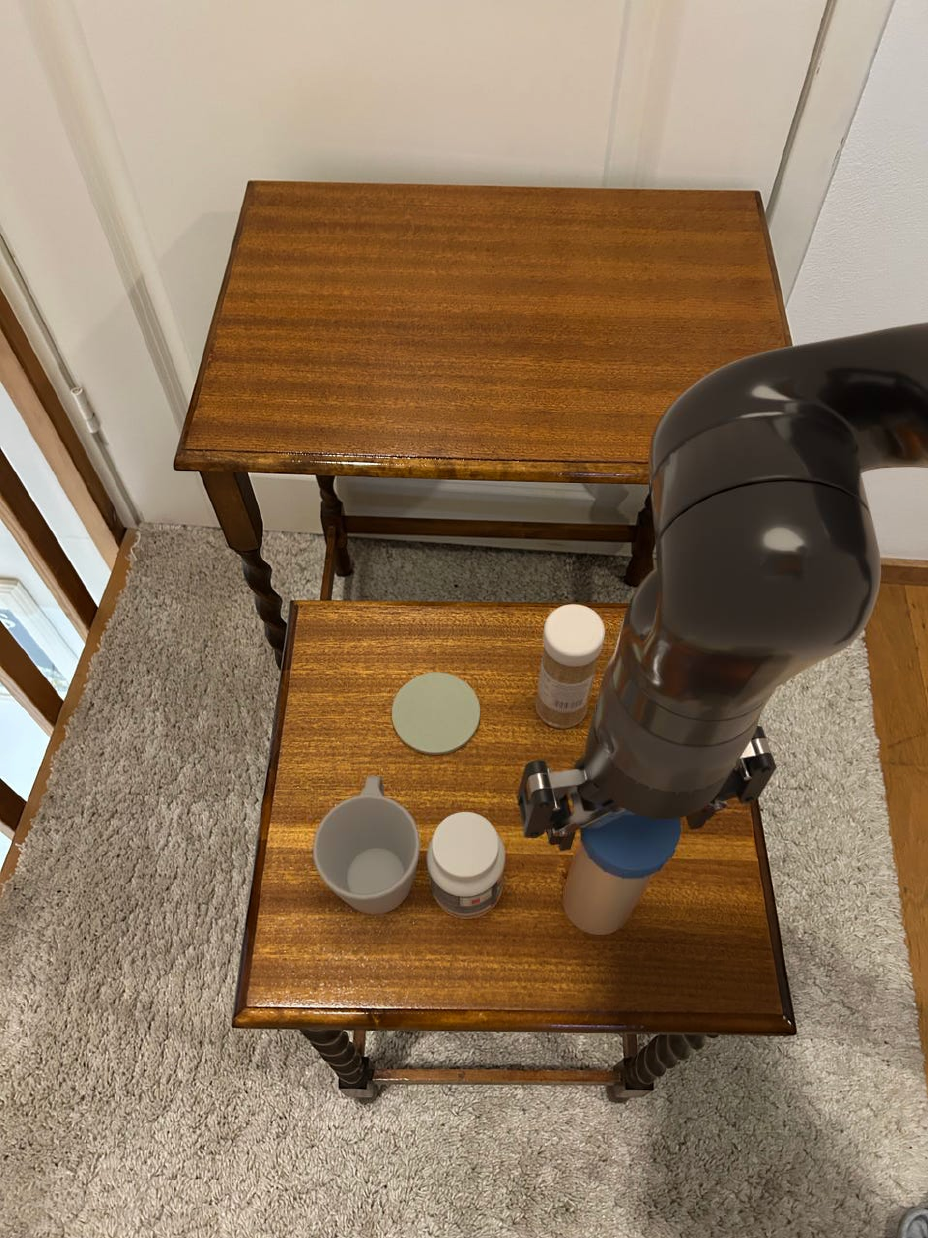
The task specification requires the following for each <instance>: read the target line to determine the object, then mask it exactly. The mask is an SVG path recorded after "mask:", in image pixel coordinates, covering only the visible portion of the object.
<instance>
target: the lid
mask: <svg viewBox="0 0 928 1238" xmlns="http://www.w3.org/2000/svg"><path fill="white" fill-rule="evenodd" d="M596 805H597V809H600V808H602V807H604V806H601V805H599V804H596ZM579 834H580V835H581V840H580V841H581V842H582V844H583V846H584V848H585V850H586V852H587V854H588V856H589V859H592V861H593V862H594V863H595V864H596V865H597V866H599V867H600V868H601V869H602V870H604V872H605V871H606V872H607V873H609V874H612V875H614V876H617V877H620V878H622V879H624V878H626V879H638V878H642V879H643V878H644V877H647V876H649V875H652V874H654V873H655V872H656V873H657V872H661V870H662V868H663V867H664V866H665V865H666V864H667V863H668V862H669V860H670V859H672V858H673V856H674V855H675V853H676V852H677V850H676V849H677V847H678V845H679V842H680V839H681V835H682V822H681V818H676V819H652V818H647V817H643V816H640V815H637V814H634V815H632V816H629V815H623V816H621V817H619V818H617V819H615V820H613V821H611V822H609V823H608V824H606V825H604V826H602V827H600V828H598V829H593V828H583V827H582V828H580V829H579ZM580 835H579V836H580ZM656 873H655V874H656Z"/></svg>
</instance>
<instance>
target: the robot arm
mask: <svg viewBox="0 0 928 1238" xmlns="http://www.w3.org/2000/svg"><path fill="white" fill-rule="evenodd" d="M649 440H650V442H649V446H648V456H647V457H648V458H647V461H648V478H649V488H650V498H651V509H652V521H653V531H654V541H655V552H656V554H655V555H656V556H655V557H656V567H655V568H653V569H652V570H651V571H650V572H649V573H648V574H647V575H646V576H645V577H644V578H643V580H642V581H641V582H640V583H639V585H638V586H637V587H636V590H635V591H634V593H633V595H632V596H631V599H630V601H629V603H628V605H627V608H626V611H625V612H624V613H625V614H624V617H623V619H622V622H621V625H620V630H619V633H618V638H617V642H616V645H615V649H614V652H613V654H612V656H611V657H610V660H609V661H608V663H607V666H606V668H605V670H604V672H603V675H602V679H601V681H600V685H599V689H598V694H597V698H596V702H595V706H594V708H593V714H592V717H591V721H590V726H589V728H588V729H589V730H588V732H587V737H586V744H585V754H584V755H583V756H582V757H581V758H579V759H578V760H577V761H576V762H575V763H574V765H573V768H572V769H567V770H557V771H553V769H552V768H551V767H548V765H547V761H546V760H542V759H539V760H532V761H530V762H528V763H526V764H525V765H524V768H523V773H522V775H521V780H520V783H519V788H518V791H517V794H516V801H517V806H518V808H519V811H520V817H521V822H522V831H523V836H524V838H528V839H537V838H539V837H542V836H543V835H544V834H545V833H546V838H547V842H548V844H549V845H550V846H557V847H558V850H559V852H565V851H570V850H572V848H573V844H574V841H575V838H576V832H577V831H578V830H579V831H580V828H582V827H583V828H593V829H598V828H600V827H602V826H604V825H606V824H608V823H609V822H611V821H613V820H615V819H617V818H619V817H621V816H623V815H629V816H632V815H634V814H637V815H640V816H643V817H647V818H652V819H676V818H680V819H681V818H684V817H685V819H686V822H687V826H688V829H690V830H697V829H702V828H703V827H704V825H705V824H706V822H707V821H709V820H711V818H713V817H714V816H715V814H716V812H717V813H718V812H721V811H722V810H724V809H726V808H728V806H729V805H728V802H727V801H728V800H732V799H734V798H737V799H738V803H740V804H752V803H753V802H755V801H756V800H758V799H759V798H760V797H761V795H762V793H763V792H764V790H765V788H766V786H767V785H768V783H769V782H770V780H771V779H772V777H773V775H774V773H775V771H776V770H777V764H776V761H775V759H774V756H773V752H772V749H771V748H770V745H769V742H768V739H767V736H766V734H765V730H764V728H763V726H762V725H759V722H760V720H761V719H760V718H761V715H762V712H763V710H764V708H765V707H766V705H767V704H768V702H769V700H770V699H771V697H772V695H773V694H774V692H775V691H776V689H777V688H778V687H780V686H781V685H784V684H785V683H786V682H788V681H790V680H791V679H793V678H795V677H796V676H798V675H800V674H801V673H802V672H805V671H806V670H808V669H809V668H811V667H813V666H814V665H817V664H818V663H820V662H822V661H824V660H827V659H829V658H831V657H833V656H835V655H836V654H839V653H840V652H841V651H843V650H844V649H847V647H849V646H851V645H852V644H853V643H854V642H855V641H856V640H857V638H859V637H860V636H861V634H862V632H863V631H864V630H865V627H867V625H868V623H869V620H870V619H871V616H872V615H873V612H874V608H875V606H876V603H877V599H878V595H879V592H880V587H881V586H880V585H881V578H882V561H881V552H880V546H879V543H878V538H877V534H876V530H875V525H874V521H873V518H872V512H871V508H870V505H869V500H868V497H867V492H866V488H865V484H864V479H863V475H862V474H863V473H866V472H869V471H874V470H880V469H893V468H894V469H895V468H896V469H897V468H898V469H899V468H919V469H921V468H922V469H928V321H926V322H917V323H911V324H905V325H898V326H893V327H887V328H882V329H878V330H873V331H868V332H863V333H859V334H853V335H846V336H842V337H836V338H830V339H825V340H819V341H813V342H808V343H802V344H797V345H792V346H791V345H790V346H786V347H780V348H775V349H771V350H767V351H763V352H759V353H754V354H752V355H748V356H745V357H743V358H740V359H736V360H734V361H731V362H729V363H727V364H725V365H723V366H721V367H719V368H717V369H714V370H713V371H710V372H709V373H708V374H706V375H705V376H703V377H701V378H700V379H699V380H697V381H695V382H694V383H693V384H692V385H690V386H689V387H688V388H687V389H686V390H684V391H683V392H682V393H681V394H680V395H678V396H677V398H675V400H673V402H672V403H670V405H669V406H668V407H667V408H666V410H665V411H664V412H663V413H662V415H661V416H660V418H659V419H658V420H657V423H656V424H655V427H654V428H653V430H652V434H651V437H650V439H649ZM569 800H571V802H572V808H573V811H572V810H571V806H570V802H569ZM596 804H599V805H601V806H604V807H602V808H600V809H597V805H596Z"/></svg>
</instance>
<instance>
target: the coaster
mask: <svg viewBox="0 0 928 1238" xmlns="http://www.w3.org/2000/svg"><path fill="white" fill-rule="evenodd" d="M391 721H392V725H393V729H394V731H395V733H396V735H397V737H398V738H399V739H400V740H401V742H403V743H404V744H405V746H407V747H408V748H410V749H411V750H413V751H415V752H417V753H421V754H424V755H429V756H442V755H447V754H451V753H453V752H456V751H457V750H459V749H461V748H462V747H464V746H465V745H467V744H468V743H469V742H470V741H471V739H472V738H473V737H474V735H475V734H476V732H477V731H478V728H479V725H480V721H481V705H480V701H479V699H478V696H477V693H475V691H474V689H473V688H472V687H471V686H470V685H469V684H468V683H467V682H466V681H465V680H463V679H461V678H460V677H458V676H457V675H453V674H450V673H446V672H437V671H436V672H427V673H423V674H420V675H418V676H415V677H413V678H412V679H410V680H409V681H407V682H406V683H405V684H404V685H403V686H402V687H401V688H400V689H399V690H398V692H397V693H396V695H395V697H394V700H393V702H392V706H391Z"/></svg>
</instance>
